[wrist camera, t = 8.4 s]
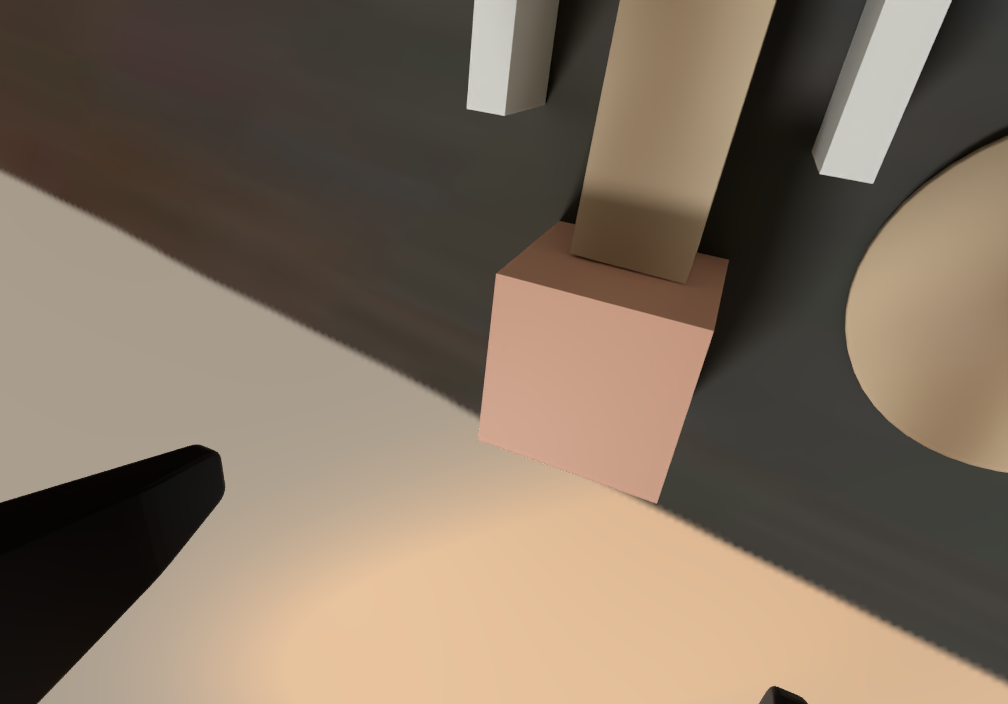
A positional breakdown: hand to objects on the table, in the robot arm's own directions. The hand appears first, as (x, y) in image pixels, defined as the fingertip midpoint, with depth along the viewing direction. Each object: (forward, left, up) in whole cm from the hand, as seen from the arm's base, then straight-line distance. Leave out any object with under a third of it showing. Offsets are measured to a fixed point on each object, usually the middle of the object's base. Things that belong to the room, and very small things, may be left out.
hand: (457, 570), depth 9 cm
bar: (0, -7, -12) cm, 14 cm away
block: (0, 0, -11) cm, 11 cm away
